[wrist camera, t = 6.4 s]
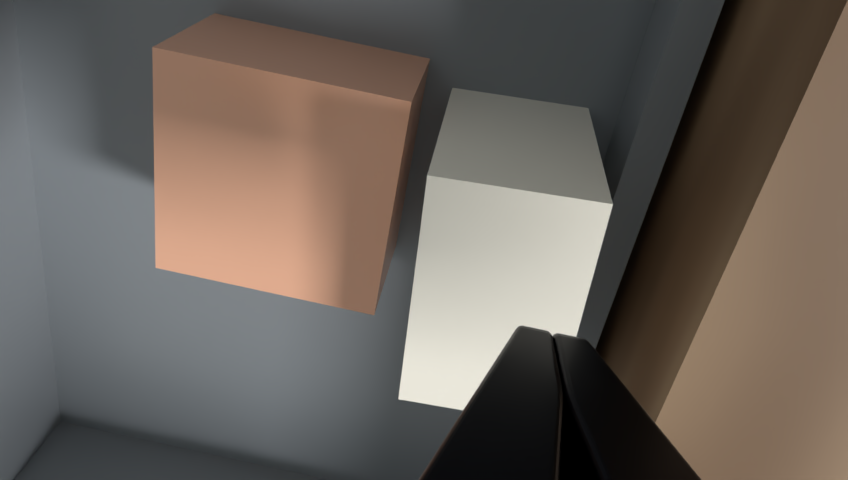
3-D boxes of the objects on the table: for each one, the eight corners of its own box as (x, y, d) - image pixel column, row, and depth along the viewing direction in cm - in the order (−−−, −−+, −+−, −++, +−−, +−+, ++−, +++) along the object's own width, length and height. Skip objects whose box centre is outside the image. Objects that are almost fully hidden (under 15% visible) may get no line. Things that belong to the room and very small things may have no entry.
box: (863, -508, 9) (1001, -651, 6) (506, 522, 19) (504, 630, 16) (-89, -685, 9) (-324, -891, 7) (49, 422, 19) (-25, 512, 17)
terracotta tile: (152, 47, 11) (214, 13, 13) (155, 267, 13) (208, 206, 15) (411, 101, 11) (430, 58, 13) (374, 314, 13) (396, 246, 15)
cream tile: (613, 204, 9) (427, 175, 10) (551, 425, 11) (398, 399, 12) (588, 108, 13) (452, 87, 13) (544, 290, 15) (426, 270, 15)
